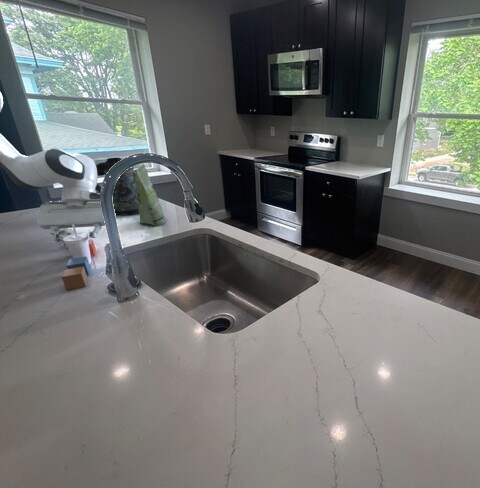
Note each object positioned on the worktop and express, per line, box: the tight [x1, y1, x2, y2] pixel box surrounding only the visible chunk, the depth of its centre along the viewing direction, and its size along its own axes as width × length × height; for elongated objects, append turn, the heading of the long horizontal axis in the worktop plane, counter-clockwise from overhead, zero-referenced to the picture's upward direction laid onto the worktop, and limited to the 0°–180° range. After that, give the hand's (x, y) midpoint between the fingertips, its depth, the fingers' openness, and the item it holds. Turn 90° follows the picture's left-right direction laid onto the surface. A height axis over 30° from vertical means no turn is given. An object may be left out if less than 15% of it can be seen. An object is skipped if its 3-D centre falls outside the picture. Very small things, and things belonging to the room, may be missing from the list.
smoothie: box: [63, 224, 92, 264], centre depth 96 cm, size 6×6×14 cm
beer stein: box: [95, 157, 140, 217], centre depth 139 cm, size 16×19×25 cm
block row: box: [61, 238, 97, 291], centre depth 95 cm, size 4×26×4 cm, turn 29°
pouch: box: [133, 163, 167, 227], centre depth 128 cm, size 11×12×25 cm
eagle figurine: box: [50, 228, 75, 250], centre depth 109 cm, size 8×7×9 cm
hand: (75, 239), depth 95 cm, fingers open, 8 cm apart
